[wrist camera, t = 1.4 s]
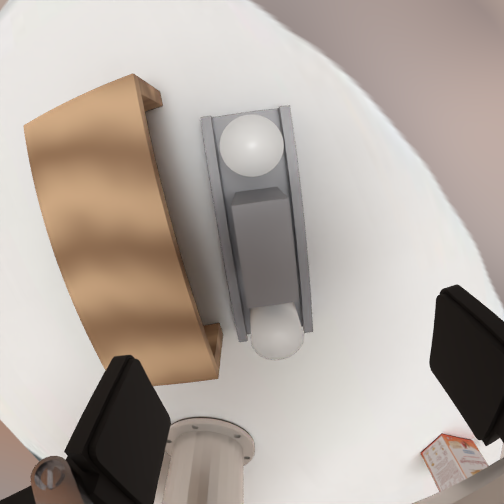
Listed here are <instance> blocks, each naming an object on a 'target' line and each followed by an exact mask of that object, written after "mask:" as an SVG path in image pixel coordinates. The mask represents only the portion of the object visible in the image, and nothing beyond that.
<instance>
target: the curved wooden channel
mask: <svg viewBox="0 0 504 504" xmlns="http://www.w3.org/2000/svg"><path fill="white" fill-rule="evenodd" d="M161 106H163V104H162V100H161V95H160V91H158V90H157V89H155V88H154V87H152V86H151V85H149V84H148V83H147V82H145V81H144V80H142V79H141V78H139V77H138V76H136V75H135V74H130V75H128V76H125V77H123V78H120V79H117V80H115V81H112V82H110V83H107V84H105V85H103V86H100V87H98V88H96V89H93V90H91V91H89V92H87V93H85V94H82V95H80V96H78V97H76V98H74V99H72V100H70V101H68V102H66V103H64V104H62V105H60V106H58V107H56V108H54V109H52V110H50V111H48V112H47V113H45V114H43V115H41V116H39V117H37V118H36V119H34V120H32V121H30V122H29V123H27V124H25V125H24V133H25V139H26V145H27V151H28V156H29V162H30V167H31V171H32V176H33V180H34V185H35V189H36V193H37V197H38V201H39V205H40V209H41V212H42V216H43V219H44V223H45V226H46V230H47V233H48V236H49V239H50V242H51V245H52V248H53V251H54V254H55V257H56V260H57V263H58V266H59V268H60V271H61V274H62V276H63V279H64V282H65V284H66V287H67V289H68V292H69V294H70V297H71V299H72V302H73V304H74V306H75V309H76V311H77V313H78V315H79V318H80V320H81V322H82V324H83V326H84V329H85V331H86V333H87V335H88V337H89V339H90V341H91V343H92V345H93V347H94V349H95V351H96V353H97V355H98V357H99V359H100V361H101V363H102V365H103V366H104V368H105V370H106V369H107V367H108V365H109V364H110V362H111V360H112V358H113V357H114V356H121V355H132V356H133V357H134V358H135V359H138V360H139V361H140V362H141V364H142V366H143V368H144V370H145V372H146V374H147V376H148V378H149V380H150V382H151V384H152V386H158V385H169V384H179V383H188V382H197V381H205V380H212V379H218V376H219V367H220V358H221V348H222V339H223V333H222V329H221V326H220V323H216V324H211V325H205V326H203V324H202V321H201V318H200V315H199V312H198V309H197V306H196V303H195V300H194V297H193V294H192V290H191V287H190V284H189V281H188V278H187V274H186V271H185V268H184V264H183V261H182V258H181V254H180V251H179V247H178V244H177V240H176V237H175V233H174V230H173V226H172V223H171V219H170V215H169V212H168V208H167V204H166V200H165V196H164V192H163V189H162V185H161V181H160V177H159V173H158V168H157V164H156V160H155V156H154V152H153V147H152V143H151V138H150V134H149V129H148V125H147V120H146V115H145V111H148V110H151V109H154V108H158V107H161Z"/></svg>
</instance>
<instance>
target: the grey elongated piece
mask: <svg viewBox="0 0 504 504" xmlns="http://www.w3.org/2000/svg"><path fill="white" fill-rule="evenodd" d="M201 125H202V131H203V138H204V145H205V151H206V158H207V164H208V171H209V177H210V183H211V190H212V196H213V202H214V208H215V214H216V220H217V226H218V231H219V237H220V243H221V249H222V254H223V260H224V266H225V271H226V277H227V282H228V287H229V293H230V298H231V303H232V309H233V314H234V319H235V324H236V329H237V335H238V340H239V342H244V341H247V334H251V344H252V347H253V349H254V350H255V352H256V353H257V354H259V355H260V356H262V357H264V358H266V359H270V360H281V359H285V358H288V357H290V356H292V355H293V354H295V353H296V352H297V351H298V350H299V349H300V347H301V345H302V343H303V339H304V334H303V330H302V326H303V329H304V333H307V332H313V324H312V307H311V292H310V279H309V266H308V254H307V243H306V232H305V222H304V213H303V203H302V194H301V185H300V177H299V169H298V161H297V153H296V145H295V138H294V131H293V124H292V117H291V110H290V105H289V106H280V107H279V108H278V109H269V110H260V111H252V112H245V113H238V114H231V115H224V116H218V117H211V116H206V117H201Z"/></svg>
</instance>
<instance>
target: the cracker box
mask: <svg viewBox="0 0 504 504" xmlns="http://www.w3.org/2000/svg"><path fill="white" fill-rule="evenodd" d="M421 455H422V457H423V459H424V461H425V463H426V465H427V467H428V469H429V471H430V473H431V475H432V477H433V479H434V481H435V484H436V486H437V488H438V490H439V492H441V491H443V490H445V489H447V488H449V487H451V486H453V485H455V484H457V483H459V482H461V481H463V480H465V479H467V478H469V477H471V476H473V475H474V474H476V473H478V472H480V471H481V470H483V469H485V468H487V467H488V464H487V462H486V461H485V459H484V458H483V456H482V454H481V453H480V451H479V450H478V448H477V447H476V445H475V443H474V442H473V441H472V440H467V439H462V438H458V437H453V436H449V435H445V434H441V435H440V436H439V437H438V438H437V439H436V440H435V441H434V442H433V443H432V444H430V445H429V446H428V447H427V448H426V449H425V450H424V451H422V452H421Z"/></svg>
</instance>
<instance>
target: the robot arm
mask: <svg viewBox="0 0 504 504" xmlns="http://www.w3.org/2000/svg"><path fill="white" fill-rule="evenodd" d="M429 363H430V368H431V371H432V372H433V374H434V375H435V377H436V378H437V379H438V381H439V382H440V384H441V385H442V387H443V388H444V389H445V391H446V392H447V394H448V395H449V397H450V398H451V400H452V401H453V403H454V404H455V406H456V407H457V409H458V410H459V412H460V413H461V415H462V416H463V418H464V420H465V421H466V423H467V424H468V426H469V427H470V429H471V430H472V432H473V434H474V435H475V437H476V438H477V439H478V440H482V441H483V442H484V444H485V446H487V445H489V444H491V443H492V442H494V441H496V440H497V439H499V438H501V440H502V441H503V446H502V451H501V456H500V460H498V461H497V462H495V463H493V464H492V465H490V466H488V467H487V468H485V469H483V470H481V471H480V472H478V473H476V474H474V475H473V476H471V477H469V478H467V479H465V480H463V481H461V482H459V483H457V484H455V485H453V486H451V487H449V488H447V489H445V490H443V491H441V492H438V493H436V494H434V495H432V496H429V497H427V498H425V499H422V500H420V501H417V502H415V503H412V504H504V321H502V320H501V319H500V318H499V317H498V316H497V315H495V314H494V313H493V312H492V311H491V310H489V309H488V308H487V307H486V306H485V305H483V304H482V303H481V302H480V301H478V300H477V299H476V298H475V297H473V296H472V295H471V294H470V293H468V292H467V291H466V290H465V289H463V288H462V287H461V286H459V285H454V286H451V287H448V288H444V289H442V290H441V292H440V295H438V296H437V298H436V309H435V320H434V330H433V339H432V346H431V354H430V361H429ZM170 425H171V421H170V417H169V414H168V413H167V411H166V409H165V407H164V406H163V404H162V402H161V400H160V399H159V397H158V395H157V393H156V391H155V389H154V388H153V386H152V384H151V382H150V380H149V378H148V376H147V374H146V372H145V370H144V368H143V366H142V364H141V362H140V361H139V360H138V359H135V358H134V357H133V356H132V355H121V356H114V357H113V358H112V360H111V362H110V364H109V365H108V367H107V369H106V371H105V373H104V375H103V376H102V378H101V380H100V382H99V384H98V386H97V388H96V389H95V391H94V393H93V395H92V397H91V399H90V401H89V403H88V405H87V407H86V409H85V410H84V412H83V414H82V416H81V418H80V420H79V422H78V424H77V426H76V428H75V430H74V432H73V434H72V436H71V438H70V441H69V443H68V445H67V447H66V449H65V451H64V452H65V453H66V454H67V455H68V456H67V459H66V460H65V459H64V458H62V457H59V456H50V457H46V458H44V459H43V460H41V461H39V462H38V464H37V465H35V467H34V469H33V470H32V473H31V486H29V487H27V488H25V489H23V490H21V491H19V492H17V493H15V494H13V495H11V496H9V497H7V498H5V499H3V500H1V501H0V504H153V503H154V499H155V494H156V489H157V484H158V479H159V475H160V470H161V465H162V461H163V456H164V452H165V451H166V452H167V454H168V455H169V456H170V457H171V460H170V465H169V470H168V475H167V480H166V485H165V491H164V496H163V501H162V504H243V466H244V465H246V464H247V463H249V462H250V461H251V460H252V458H253V456H254V452H255V446H254V442H253V439H252V438H251V436H250V435H249V434H248V433H247V432H246V431H244V430H243V429H241V428H239V427H238V426H236V425H233V424H231V423H228V422H225V421H221V420H216V419H210V418H192V419H186V420H182V421H179V422H176V423H174V424H173V425H171V426H170Z"/></svg>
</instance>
